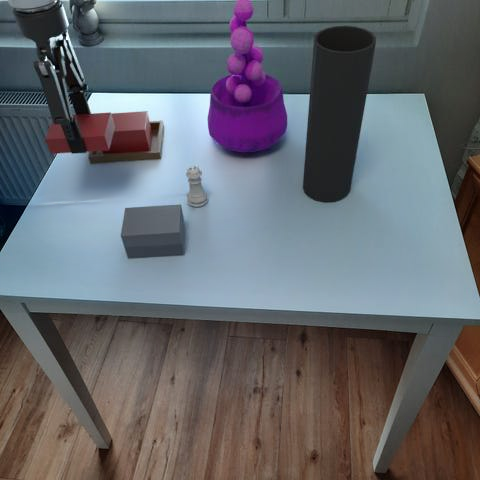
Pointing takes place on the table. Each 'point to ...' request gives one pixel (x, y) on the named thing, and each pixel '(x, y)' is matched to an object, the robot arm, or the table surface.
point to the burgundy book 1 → (84, 133)
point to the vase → (336, 109)
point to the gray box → (153, 231)
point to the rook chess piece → (196, 188)
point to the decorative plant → (246, 94)
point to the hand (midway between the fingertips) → (83, 138)
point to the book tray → (153, 154)
